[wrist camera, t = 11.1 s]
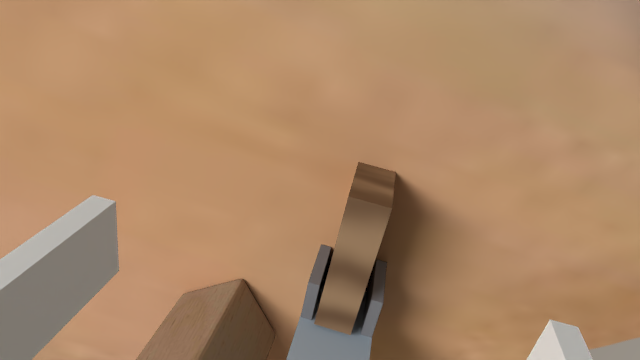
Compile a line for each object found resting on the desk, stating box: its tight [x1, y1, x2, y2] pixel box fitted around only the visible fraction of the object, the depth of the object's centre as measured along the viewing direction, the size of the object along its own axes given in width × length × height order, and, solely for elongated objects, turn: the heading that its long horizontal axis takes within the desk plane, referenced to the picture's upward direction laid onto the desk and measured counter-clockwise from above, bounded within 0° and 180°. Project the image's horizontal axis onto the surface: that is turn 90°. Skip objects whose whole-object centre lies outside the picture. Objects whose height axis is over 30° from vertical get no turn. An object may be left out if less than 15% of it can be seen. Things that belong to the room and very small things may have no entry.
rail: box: [314, 162, 396, 335], centre depth 46 cm, size 16×4×8 cm, turn 168°
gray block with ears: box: [286, 244, 387, 360], centre depth 46 cm, size 11×8×16 cm
